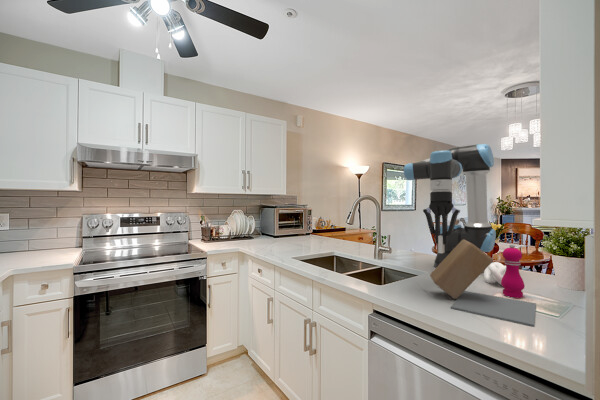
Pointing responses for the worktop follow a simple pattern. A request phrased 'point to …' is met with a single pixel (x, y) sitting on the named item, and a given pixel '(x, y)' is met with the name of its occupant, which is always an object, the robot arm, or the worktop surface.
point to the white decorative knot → (494, 273)
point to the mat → (496, 307)
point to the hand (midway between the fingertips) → (441, 252)
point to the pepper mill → (512, 273)
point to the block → (460, 268)
